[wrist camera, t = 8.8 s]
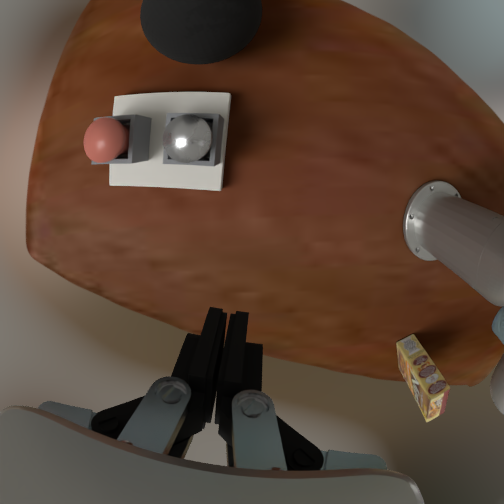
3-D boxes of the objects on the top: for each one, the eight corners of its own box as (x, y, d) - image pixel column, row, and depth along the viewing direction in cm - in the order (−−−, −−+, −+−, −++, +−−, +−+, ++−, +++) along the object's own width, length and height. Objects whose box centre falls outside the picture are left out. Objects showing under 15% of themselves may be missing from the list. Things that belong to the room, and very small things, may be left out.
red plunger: (145, 119, 27) (123, 115, 22) (142, 158, 29) (120, 162, 24) (111, 121, 27) (85, 119, 22) (109, 159, 29) (83, 163, 23)
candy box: (395, 341, 43) (429, 401, 29) (414, 332, 43) (451, 388, 29) (398, 368, 46) (425, 423, 32) (415, 359, 46) (445, 412, 31)
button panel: (231, 96, 29) (225, 83, 23) (222, 188, 34) (214, 198, 27) (121, 98, 29) (95, 91, 22) (116, 183, 33) (89, 192, 27)
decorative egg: (268, 8, 24) (275, -57, 10) (250, 83, 29) (247, 39, 15) (178, 2, 23) (143, -55, 9) (156, 75, 28) (99, 40, 14)
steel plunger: (221, 120, 28) (213, 114, 23) (217, 161, 30) (209, 164, 25) (180, 119, 28) (164, 114, 23) (177, 158, 30) (160, 162, 24)
